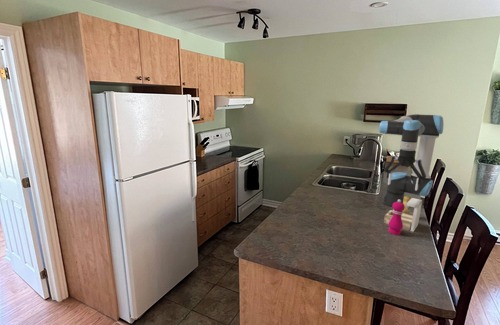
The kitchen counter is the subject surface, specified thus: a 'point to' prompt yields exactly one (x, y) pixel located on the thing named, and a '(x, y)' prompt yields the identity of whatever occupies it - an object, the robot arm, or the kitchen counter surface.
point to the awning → (415, 211)
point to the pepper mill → (396, 218)
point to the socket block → (404, 217)
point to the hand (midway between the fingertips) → (402, 186)
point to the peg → (405, 201)
